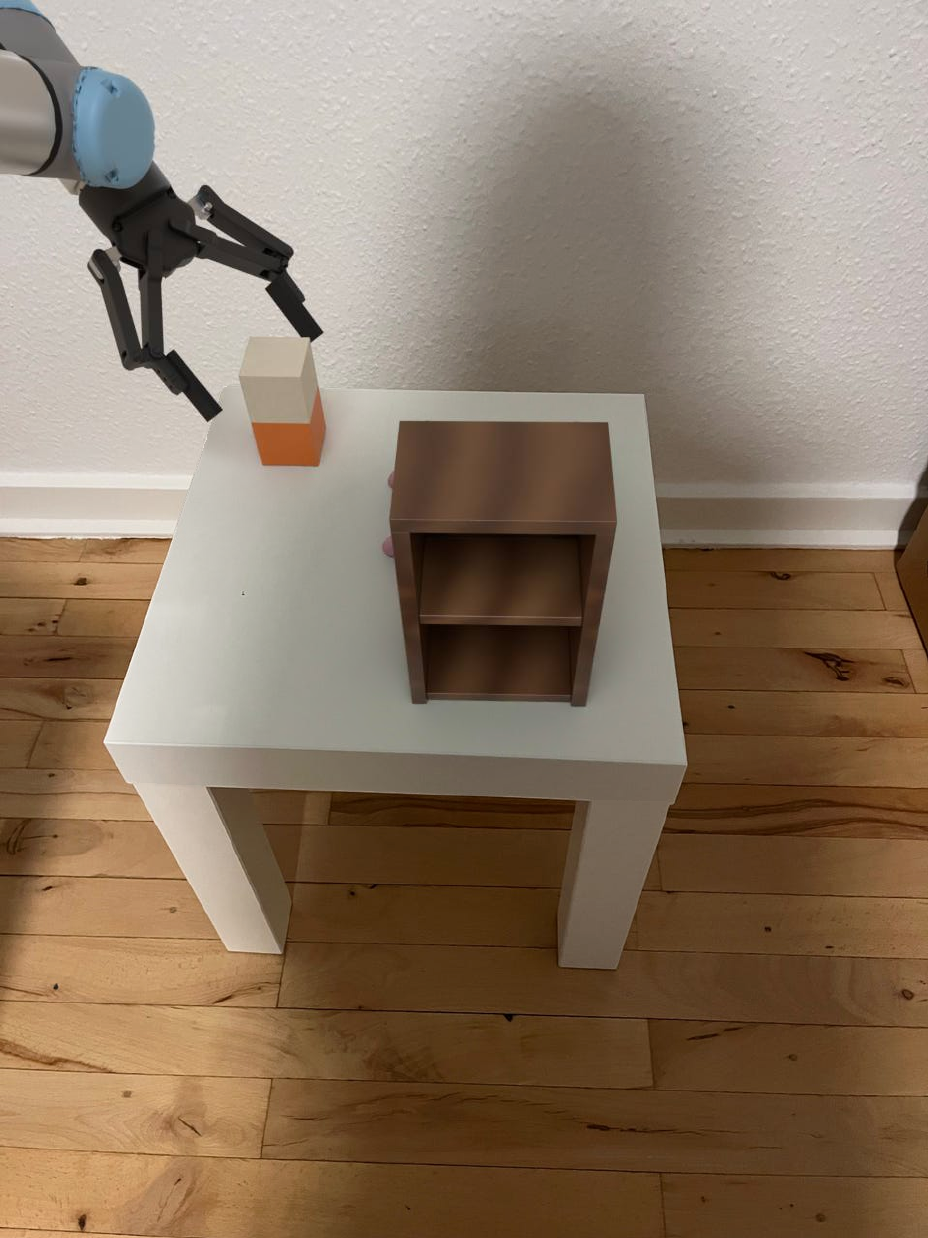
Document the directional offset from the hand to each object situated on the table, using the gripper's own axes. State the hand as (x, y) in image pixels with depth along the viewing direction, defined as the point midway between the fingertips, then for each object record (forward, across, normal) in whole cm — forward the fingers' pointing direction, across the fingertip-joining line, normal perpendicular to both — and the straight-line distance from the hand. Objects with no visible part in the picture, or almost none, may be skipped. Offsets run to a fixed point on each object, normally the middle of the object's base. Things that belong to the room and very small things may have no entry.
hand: (267, 376), depth 87 cm
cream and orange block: (+7, 0, +4) cm, 8 cm away
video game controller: (+18, -1, -7) cm, 20 cm away
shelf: (+29, -9, -18) cm, 35 cm away
